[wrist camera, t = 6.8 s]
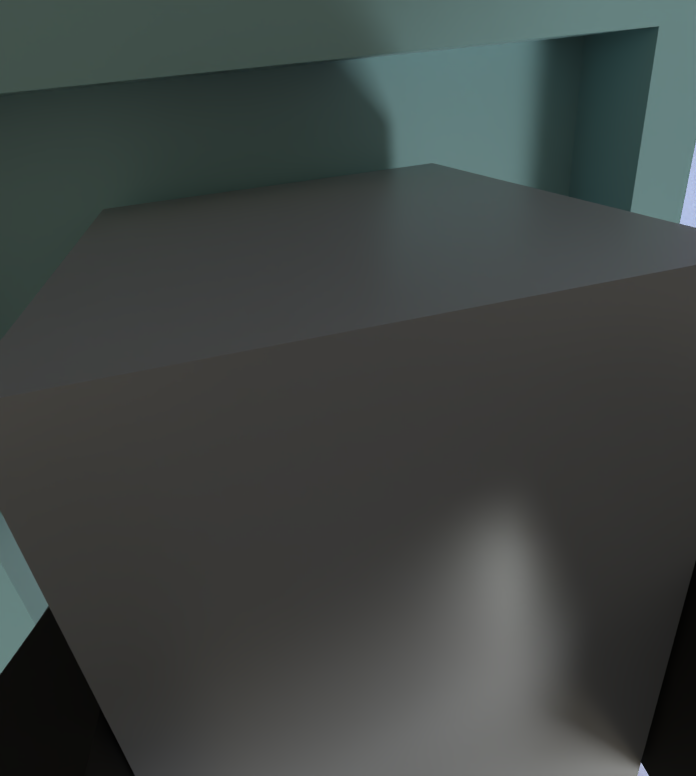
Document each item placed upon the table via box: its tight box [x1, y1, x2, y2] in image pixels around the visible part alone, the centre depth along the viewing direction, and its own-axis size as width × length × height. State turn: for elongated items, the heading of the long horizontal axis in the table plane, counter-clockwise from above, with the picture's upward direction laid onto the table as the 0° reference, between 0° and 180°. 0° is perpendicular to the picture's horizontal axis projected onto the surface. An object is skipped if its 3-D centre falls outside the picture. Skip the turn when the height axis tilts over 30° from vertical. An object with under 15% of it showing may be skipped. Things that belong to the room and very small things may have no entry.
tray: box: [0, 0, 696, 674], centre depth 11 cm, size 13×15×2 cm
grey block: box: [0, 163, 696, 776], centre depth 8 cm, size 5×9×6 cm, turn 6°
